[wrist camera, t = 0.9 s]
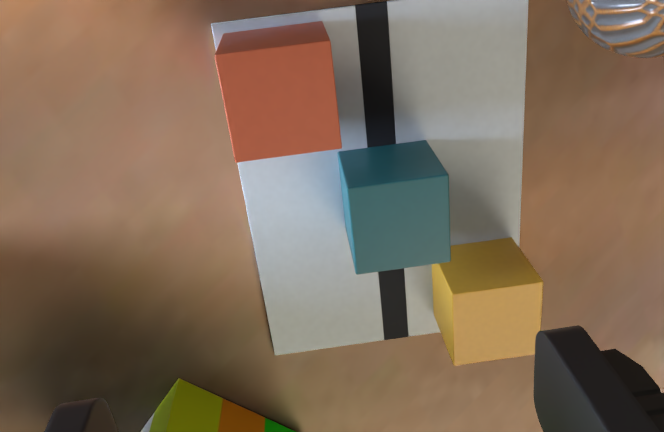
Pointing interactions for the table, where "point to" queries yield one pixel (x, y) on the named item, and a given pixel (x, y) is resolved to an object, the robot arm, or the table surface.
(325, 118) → the terracotta block
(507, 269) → the mustard block
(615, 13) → the vase
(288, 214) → the desk mat
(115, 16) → the table surface
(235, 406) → the puzzle toy
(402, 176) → the teal block
